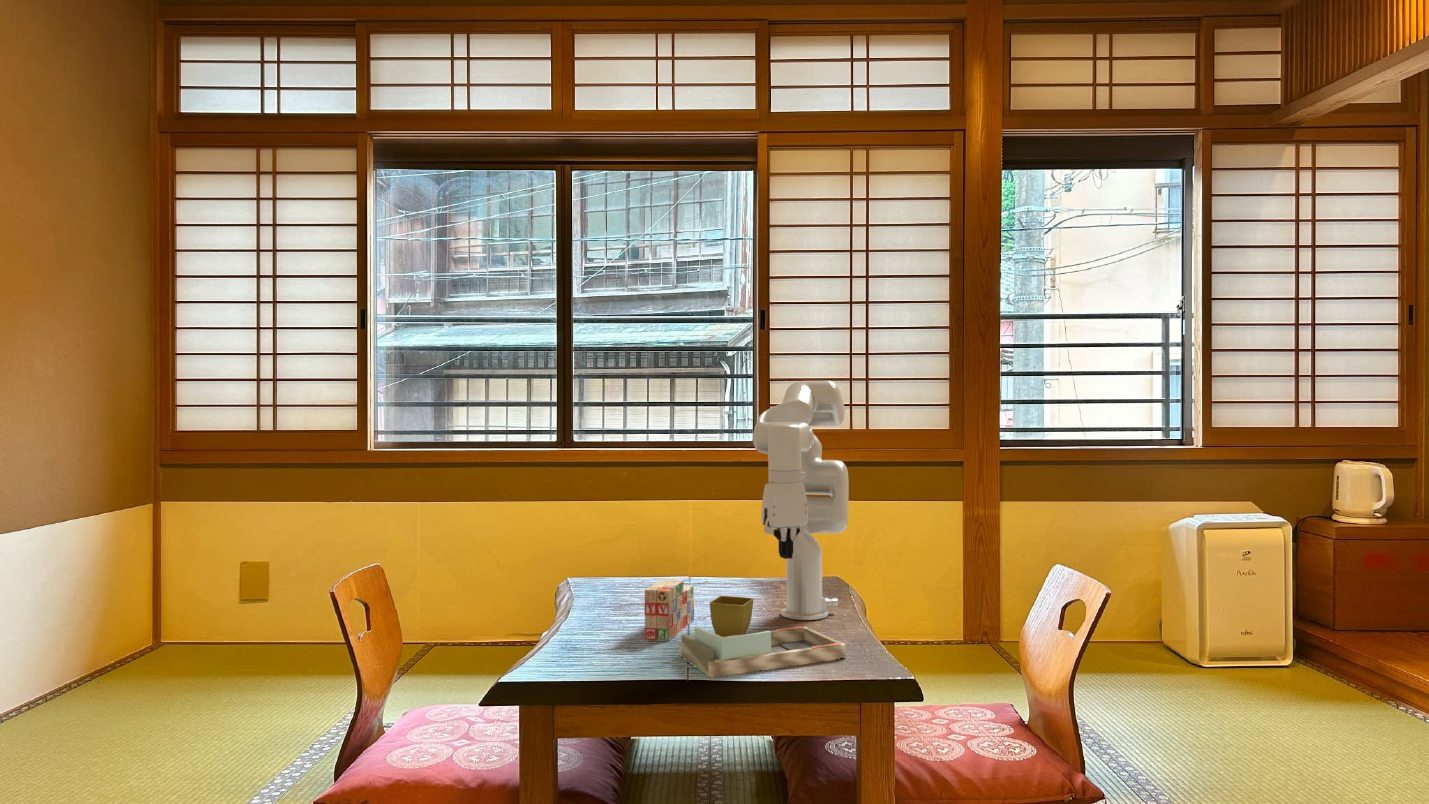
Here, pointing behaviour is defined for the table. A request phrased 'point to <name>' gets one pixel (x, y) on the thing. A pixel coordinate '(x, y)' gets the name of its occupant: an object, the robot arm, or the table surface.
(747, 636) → the l-shaped corner panel
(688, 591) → the stack of blocks
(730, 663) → the box
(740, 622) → the flower pot
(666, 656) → the table surface
